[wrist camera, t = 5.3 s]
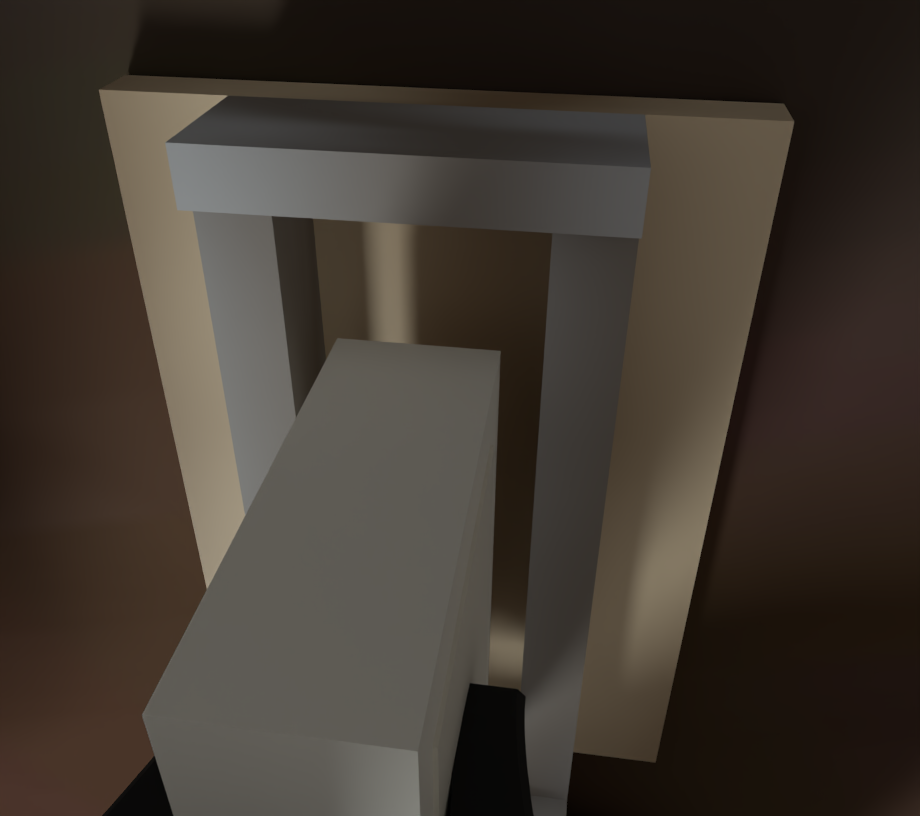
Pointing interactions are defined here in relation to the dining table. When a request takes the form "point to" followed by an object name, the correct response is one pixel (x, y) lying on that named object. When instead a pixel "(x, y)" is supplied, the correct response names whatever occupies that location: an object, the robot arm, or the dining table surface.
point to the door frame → (475, 332)
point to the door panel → (346, 601)
